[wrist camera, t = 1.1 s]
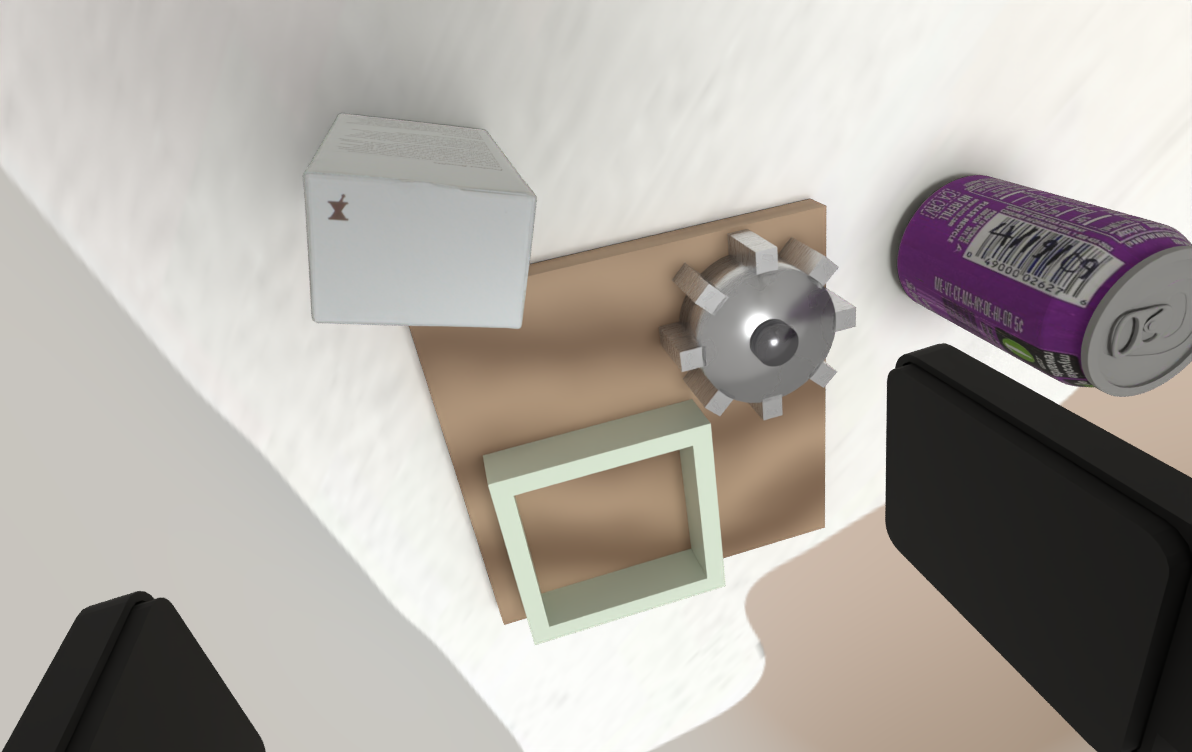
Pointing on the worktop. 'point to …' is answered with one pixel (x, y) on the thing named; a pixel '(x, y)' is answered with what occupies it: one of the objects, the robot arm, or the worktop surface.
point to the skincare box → (416, 226)
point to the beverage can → (1054, 282)
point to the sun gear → (756, 324)
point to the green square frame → (594, 454)
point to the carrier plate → (620, 411)
